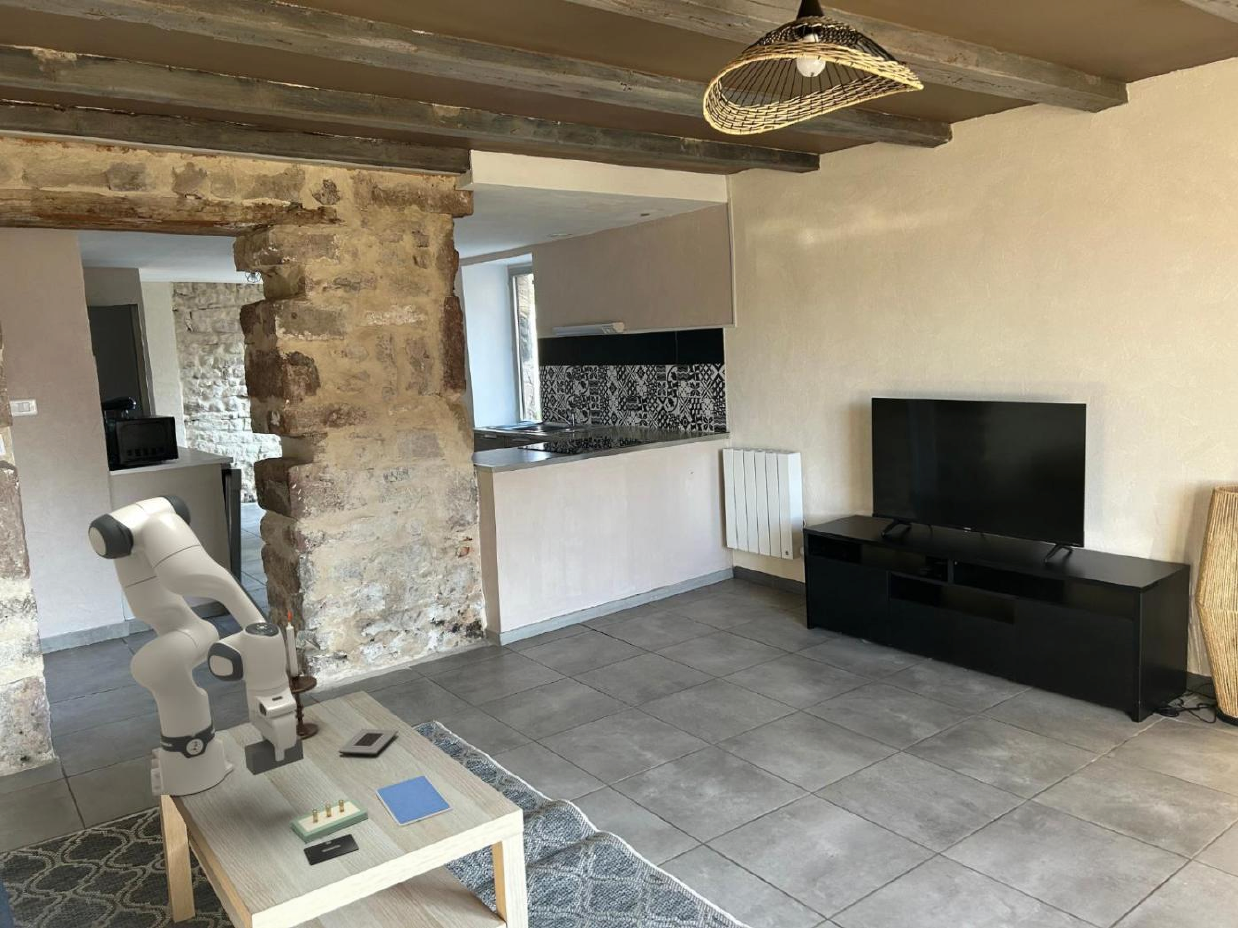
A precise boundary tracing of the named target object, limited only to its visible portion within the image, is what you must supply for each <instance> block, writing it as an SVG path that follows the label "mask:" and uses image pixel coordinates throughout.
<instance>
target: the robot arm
mask: <svg viewBox="0 0 1238 928" xmlns="http://www.w3.org/2000/svg"><path fill="white" fill-rule="evenodd" d="M191 522H192V515H191V511H190V508H189V506H188V504H187V502H186V501H185V500H184V499H183V498H182V497H180V496H179V495H177V494H173V493H171V494H170V493H169V494H161V495H158V496H157V497H153V498H148V499H144V500H139V501H136V502H132V503H131V504H129V505H126V506H124V507H121V508H119V509H117V510H114V511H111V512H110V513H105V514H102V515H100V516H98V517H97V518H95V519H94V520H92V521H91V522H90V525H89V527H88V531H87V532H88V539H89V542H90V544H91V547H92V549H93V550H94V552H95V553H96V554H97V555H98V557H99V556H100V557H102V558H103V559H106V560H113V562H114V563H113V564H114V568H115V571H116V575H117V578H118V581H119V583H120V586H121V588H122V591H123V594H124V596H125V599H126V600H127V603H128V606H129V608H130V610H131V613H132V615H133V616H134V618H135V619H136V620H138V621H141V622H145V623H146V624H148V625H149V626H150V627H151V629H153V630H154V632H155V633H156V635H157V637H156V638H154V639H152V640H150V641H148V642H147V643H145V644H144V645H143V646H142V647H141V648H140V649H139V650H138V651H137V652H136V653H135V654H134V655H133V656H132V658H131V661H130V672H131V675H132V678H133V679H134V680H135V681H136V683H137V684H139V685H140V686H142V687H144V688H147V689H148V690H149V691H150V692H151V694H152V696H153V698H154V701H155V702H156V705H157V709H158V715H159V720H160V727H161V729H160V730H161V732H160V736H159V742H160V746H161V747H160V749H158V752H157V755H158V757H156V758H152V759H151V760H150V762H151V769H150V781H151V782H150V783H151V795H152V796H154V797H155V796H164V795H165V796H166V795H167V796H168V795H169V796H186V795H192V794H196V793H199V792H202V791H205V790H208V789H210V788H212V787H214V786H215V785H218V784H219V783H221V781H222V780H223V779H224V778H225V777H226V775H227V774H229V773H231V772H233V770H234V765H233V764H232V763H230V762H228V761H226V756H225V751H224V749H225V748H224V745H223V741H222V740H220V739H219V738H217V737H215V736H216V734H215V733H216V732H215V730H216V729H215V726H214V722H213V720H212V718H211V709H210V702H209V694H208V692H207V691H206V690H205V689H204V688H202V687H200V686H198V685H197V684H196V682H195V680H194V677H193V669H195V668H197V667H198V666H200V665H201V664H202V663H205V662H206V663H207V665H208V669H209V672H210V673H211V675H212V676H214V678H216V679H218V680H219V681H222V682H238V681H242V680H243V681H244V682H245V691H246V698H247V699H246V701H247V708H248V717H249V722H250V724H251V726H253V727H254V728H255V729H256V730H257V731H258V732H259V733H260V736H261V737H260V738H261V739H262V740H261V741H264V740H267V739H268V740H269V741H270V742H271V743H272V744H273V745H274V747H275V752H274V758H275V760H276V761H280V760H283V759H284V750H285V749H288V748H291V747H293V746H295V743H296V725H297V721H296V720H297V718H295V715H296V713H295V710H296V709H297V705H296V701H295V697H294V695H292V694H291V691H290V687H289V681H288V679H289V677H288V676H287V675H288V674H287V670H286V668H287V661H288V659H287V652H286V647H287V641H286V640H287V638H286V636H285V633H284V631H283V630H282V629H281V628H280V627H279V626H278V625H277V624H276V623H275V622H274V621H273V620H272V619H271V618H270V617H269V616H268V615H267V614H266V613H265V612H264V610H263V609H262V608H261V607H260V605H259V604H258V602H257V601H256V599H254V598H253V596H252V595H251V594H250V593H249V591H248V590H247V588H246V587H245V586H244V585H243V583H242V582H241V581H240V580H239V579H238V578H237V576H236V575H235V574H234V573H233V572H232V571H231V570H229V569H228V568H226V567H223V566H222V565H220V564H219V563H218V562H216V561H215V560H214V559H213V558H212V557H211V555H209V554H208V552H206V550H205V548H204V547H203V545H202V544H201V542H200V540H199V539H198V537H197V535H196V534H195V532H194V531H193V530H192V528H191V527H190V525H191ZM184 597H201V598H208V599H212V600H216V601H218V602H220V603H221V604H222V605H224V607H225V608H226V609H227V610H228V611H229V613H230V614H231V615H232V618H233V619H235V621H236V622H237V623H238V624H239V626H240V627H241V629H242V630H241V631H239V632H237V633H233V634H231V635H229V636H227V637H224V638H221V639H220V634H219V632H218V630H217V628H216V627H215V625H214V624H212V623H211V622H209V621H207V620H206V619H202V617H200V616H198V614H196V612H195V611H193V610H192V609H191V607H190V606H189V605H188V603H187V602H186V600H185V599H184Z"/></svg>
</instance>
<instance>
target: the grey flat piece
mask: <svg viewBox="0 0 1238 928" xmlns="http://www.w3.org/2000/svg"><path fill="white" fill-rule="evenodd" d="M398 733H399V730H398V729H397V730H396V729H372V728H368V729H367V728H362V729H361V730H359V732H358V733H356V734H355V735H354V736H353V737H352V738H351V739H350V740H349V741H348V742H346V743H345V744H344V745H343V746H342V747H341V748H340V749H339V750H338V751H337V752H338V753H339V754H345V755H347V754H348V755H364V756H365V755H367V756H368V755H369V756H370V755H371V756H376V755H377V754H378V753H379V752H380V751H381V750H382V749H383V748H384V747H385V746H386V745H387V744H388V743H389V742H390V741H391V740H392V739H393V738H394V737H395V736H396V735H397V734H398Z"/></svg>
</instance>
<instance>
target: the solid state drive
mask: <svg viewBox="0 0 1238 928" xmlns="http://www.w3.org/2000/svg"><path fill="white" fill-rule="evenodd" d="M358 850H360V847H359V846H358V844H357V842H356V840H355V839H354V836H353V835H352V834H351V833H349V834H345V835H342V836H339V837H336V838H334V839H333V838H332V839H330V840H327V841H324V842H321V843H317V844H314V845H311V846H308V847H305V848H303V852H304V854H305V857H306V859H307V861H308V863H309V866H315V865H318V864H321V863H323V862H327V861H330V860H332V859H336V858H337V857H341V856H344V855H347V854H350V853H355V852H357V851H358Z"/></svg>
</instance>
